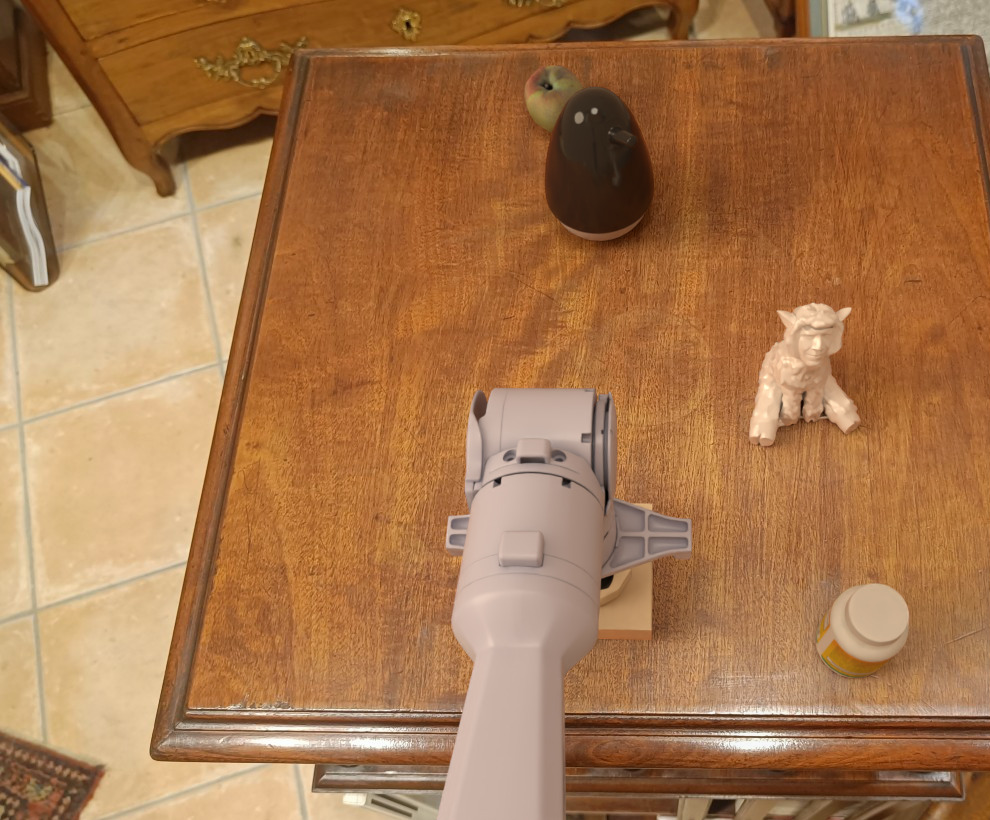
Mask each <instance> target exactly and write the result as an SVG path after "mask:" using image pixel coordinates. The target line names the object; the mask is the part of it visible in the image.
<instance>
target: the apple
mask: <svg viewBox="0 0 990 820" xmlns="http://www.w3.org/2000/svg"><path fill="white" fill-rule="evenodd" d="M584 88H585V87H584V86H583V84H582V82H581V81H580V79H579V77H578V76H577V75H576V74H575V73H574V72H573V71H571V70H570V69H569V68H567V67H565V66H564V65H560V64H556V65H555V64H554V65H553V64H552V65H550V64H549V65H542V66H541V67H538V69H536V70H535V71H534V72H533V73H532V74H531V75H530V76H529V78H528V79H527V80H526V82H525V85H524V91H523V95H524V101H525V106H526V109H527V112H528V113H529V115H530V117H531V119H532V121H534V123H535V124H536V125H537V126H539V127H541V128H542V129H544V130H545V131H547V132H548V133H550V134H552V131H553V128H554V125H555V123H556V120H557V118H558V116H559V114H560V112H561V110H562V108H563V107H564V105H565V104H566V102H567V101H568V100H569V99H570V98H571V97H572V96H573V95H574V94H575V93H576V92H578V91H580V90H581V89H584Z"/></svg>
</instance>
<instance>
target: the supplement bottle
mask: <svg viewBox="0 0 990 820" xmlns="http://www.w3.org/2000/svg"><path fill="white" fill-rule="evenodd" d="M909 622H910V610H909V606H908V604H907V602H906V600H905V599H904V597H903V596H902V595H901V594H900V592H899V591H897V589H894V588H893V587H892V586H889V585H887V584H883V583H880V582H879V583H876V582H872V583H871V582H870V583H867V584H857V585H854V586H851V587H849V588H846V589H845V590H844V591H842V592H841V593H840V594H839V595H838V596H837V597H836V598H835V599H834V601H833V603H832V604H831V605H830V606H829V608H828V610H827V611H826V613H825V614H824V615H823V617H822V618H821V620H820V621H819V623H818V625H817V629H816V632H815V648H816V651H817V653H818V656H819V657H820V659H821V661H822V662H823V663H824V665H825V666H826V667H827V668H829V669H830V670H831V671H833V672H834V673H835V674H837V675H839V676H841V677H845V678H848V679H863V678H867V677H869V676H872V675H873V674H875V673H876V672H878V671H879V670H880V669H881V668H882V667H884V666H885V665H886V664H887V663H888V662H889V661H890V660H891V659H893V658H894V657H895V656H896V655H898V653H899V652H901V650H902V649H903V647H904V646H905V644H906V643H907V640H908V637H909V631H910V623H909Z"/></svg>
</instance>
